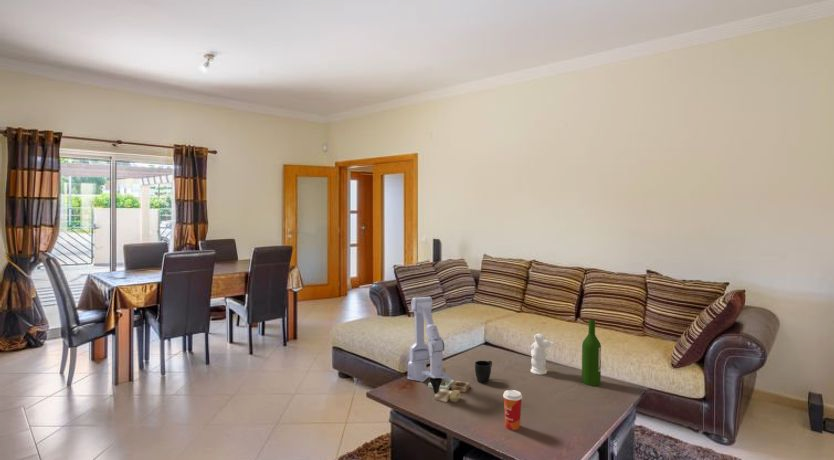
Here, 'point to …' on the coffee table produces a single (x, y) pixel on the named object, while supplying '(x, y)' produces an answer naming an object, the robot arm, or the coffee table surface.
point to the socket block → (460, 386)
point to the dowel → (443, 379)
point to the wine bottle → (591, 357)
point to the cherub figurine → (539, 354)
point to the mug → (483, 371)
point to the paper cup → (512, 409)
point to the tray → (446, 386)
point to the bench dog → (455, 395)
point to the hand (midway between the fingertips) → (436, 392)
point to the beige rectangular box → (443, 395)
